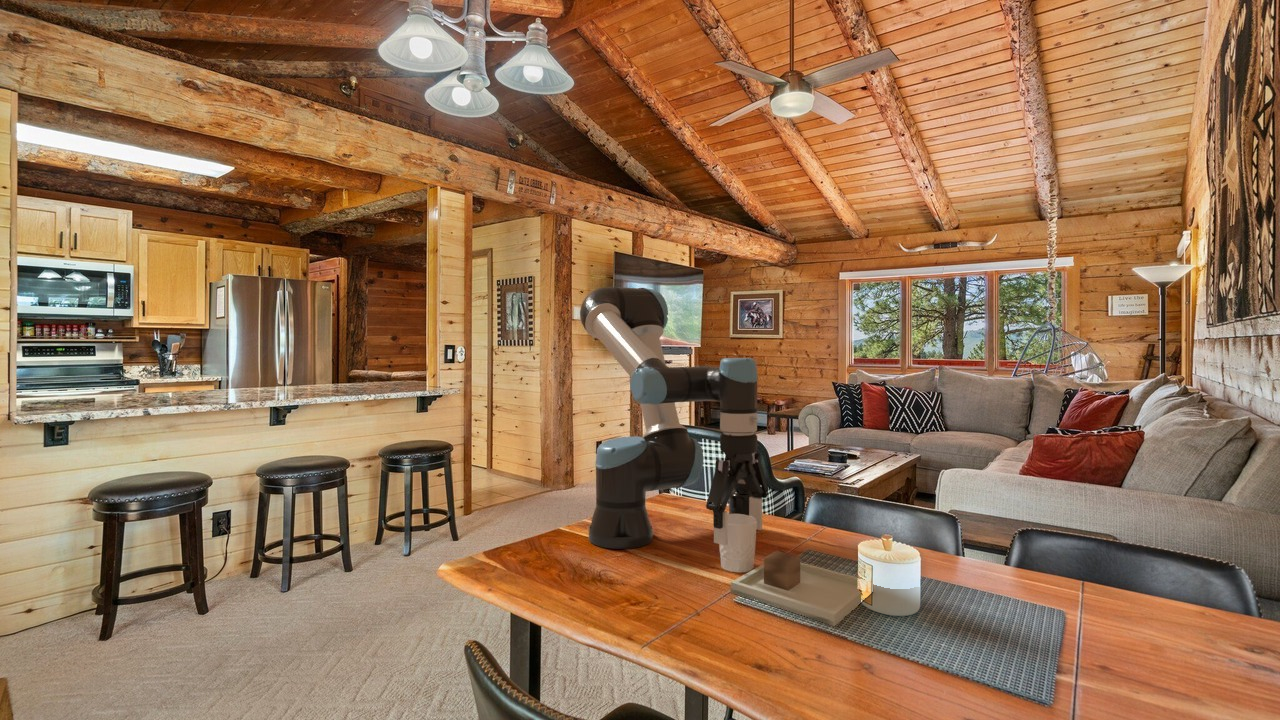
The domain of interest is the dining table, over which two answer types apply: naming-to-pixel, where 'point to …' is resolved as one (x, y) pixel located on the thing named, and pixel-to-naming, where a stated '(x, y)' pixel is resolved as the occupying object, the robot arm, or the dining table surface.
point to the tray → (805, 593)
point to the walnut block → (782, 570)
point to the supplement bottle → (739, 499)
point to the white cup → (739, 544)
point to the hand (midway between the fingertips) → (738, 535)
